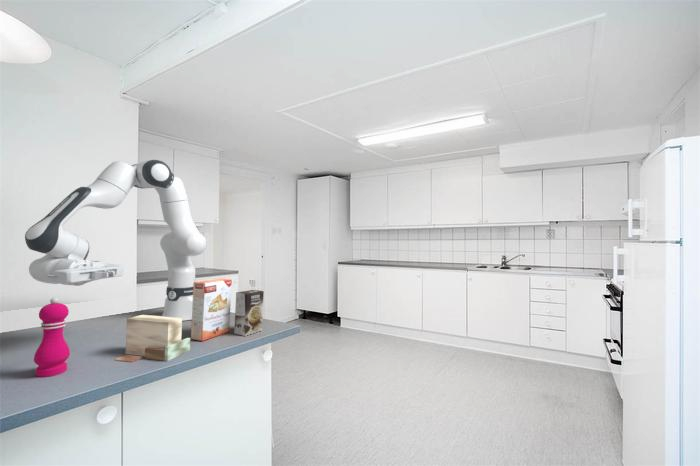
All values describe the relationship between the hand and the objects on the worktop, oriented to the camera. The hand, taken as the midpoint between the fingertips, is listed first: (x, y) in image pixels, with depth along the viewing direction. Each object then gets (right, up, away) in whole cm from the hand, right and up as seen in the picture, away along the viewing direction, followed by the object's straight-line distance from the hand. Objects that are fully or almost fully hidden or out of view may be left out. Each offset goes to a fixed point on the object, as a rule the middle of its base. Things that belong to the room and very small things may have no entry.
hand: (110, 275), depth 111 cm
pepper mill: (-1, -24, -21) cm, 32 cm away
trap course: (+15, -24, -4) cm, 29 cm away
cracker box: (+27, -25, +15) cm, 40 cm away
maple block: (+17, -24, -4) cm, 30 cm away
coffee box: (+39, -25, +21) cm, 51 cm away
